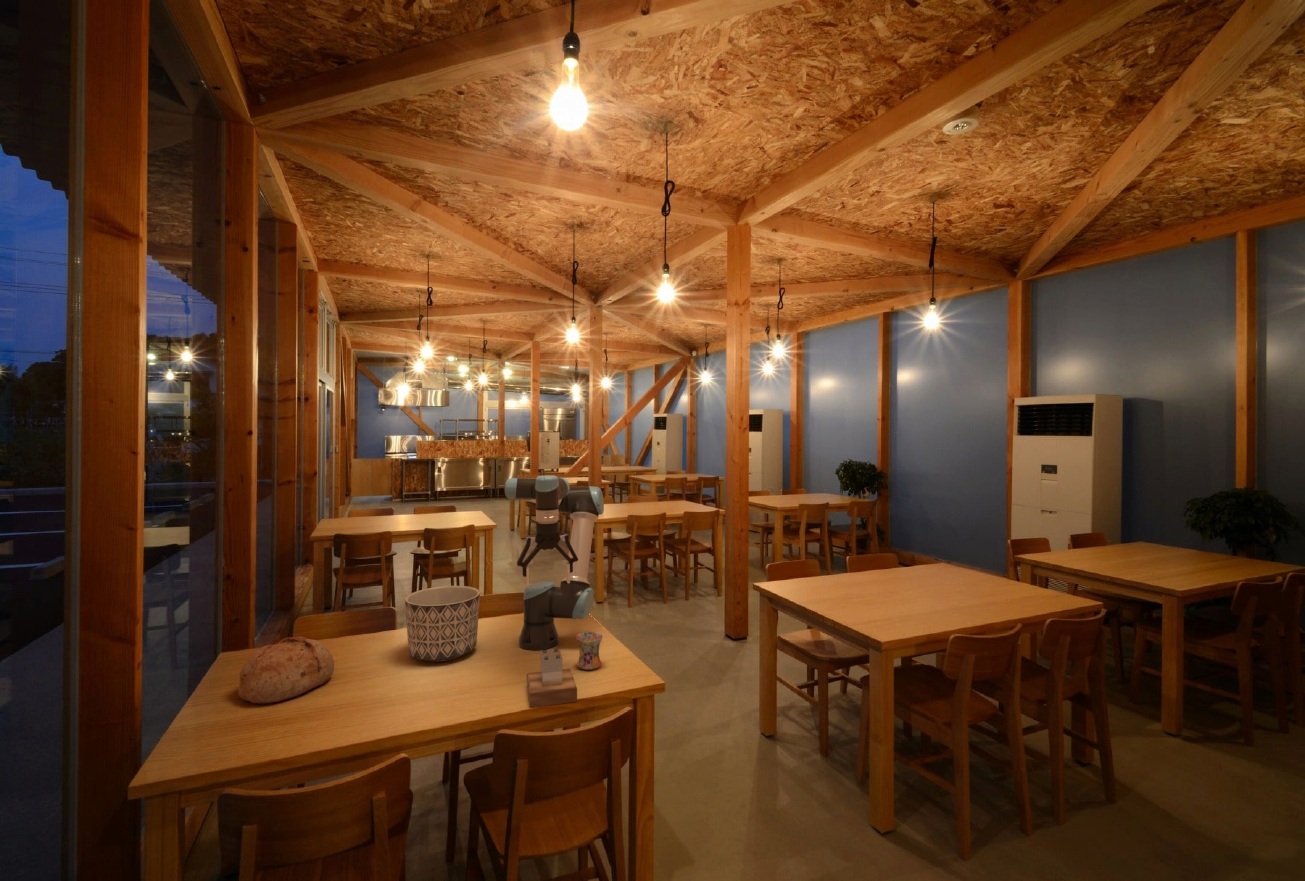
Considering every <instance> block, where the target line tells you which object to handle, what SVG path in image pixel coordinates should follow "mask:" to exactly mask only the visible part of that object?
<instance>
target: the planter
mask: <svg viewBox="0 0 1305 881" xmlns="http://www.w3.org/2000/svg"><path fill="white" fill-rule="evenodd" d="M480 595H481V592H480V590H479V589H478V588H475V587H473V586H467V585H444V586H435V587H434V586H433V587H430V588H429V587H428V588H424V589H420V590H416V591H414V592H411V593H410V594H408V595H406V596H405V597H404V602H405V603H404V604H405V605H404V606H405V617H406V620H405V621H406V631H407V632H406V634H407V646H408V647H407V649H408V654H409V655H410V656H411V657H412V658H413V659H417V660H419V661H420V660H422V661H427V662H430V663H431V662H433V663H439V662H448V661H452V660H455V659H457V658H460V657H461V656H464V655H466V654H468V653H471V651H473V650H474V649H475V648H476V647H477V643H478V631H479V630H478V629H479V628H478V627H479V612H480V599H481V596H480Z"/></svg>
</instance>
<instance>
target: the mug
mask: <svg viewBox="0 0 1305 881" xmlns="http://www.w3.org/2000/svg"><path fill="white" fill-rule="evenodd" d="M575 639H576V641H577V644H578V649H579V657H578V661H577V663H576V665H577V668H579V669H580V670H588V671H589V670H590V671H591V670H595V669H598V668H600V667H601V665H602V662H601V659H600V652H599V651H600V646H601V642H602V639H603V635H602V634H601V633H599V632H597V631H596V632H595V631H586V632H584V631H583V632H582V633H578V634H576V636H575Z"/></svg>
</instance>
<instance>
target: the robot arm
mask: <svg viewBox="0 0 1305 881" xmlns="http://www.w3.org/2000/svg"><path fill="white" fill-rule="evenodd" d="M504 484H505V485H504V494H505V497H506V498H507V499H508V500H521V501H527V502H530V503H534V504H535V522H536V523H535V536H534V537H532V536H526V542H525V544H524V546H523V548H522V550H521V553H520V555H519V557H518V559H517V561H516V565H517V566H518V567H521V568H522V576H523V578H524V577H525V585H526V587H525V588H524V590H523V598H522V600H523V626H522V629H521V632H520V635H519V637H518V638H519V639H518V645H519V647H520V648H522V649H524V650H529V651H543V650H549V649H551V648H554V647H555V646H557V645H558V644H559V634H558V631H557V627H556V624H555V619H568V620H569V619H571V620H572V619H573V620H583V619H586V618H587V617H588V616H589V614H590V613H591V610H592V607H593V603H594V598H595V597H594V596H595V594H594V593H595V592H594V589H593V588H591V583H590V582H589V581H588V574H589V566H590V558H591V550H592V549H591V547H592V543H593V535H594V534H593V533H594V525H595V522H597V521H598V520H599V516H601V515H603V514H604V511H605V502H604V496H603V491H602V490H601V488H600V487H598V486H591V485H589V486H588V485H585V486H583V485H581V486H580V485H570V482H569V481H568V480H567V479H565V478H564V477H558V476H557V475H548V474H546V475H538V476H536V478H535V477H534V478H532V477H531V478H528V477H527V478H524V477H523V478H522V477H510V478H508V479H507V480H506V482H505V483H504ZM560 513H561V514H569V515H570V518H571V519H572V520H573V521H572V528H571V534H570V535H571V536H570V539H569V535H568V534H567V533H564V534H563V535H562V534H561V535H560V529H559V528H560V523H559V522H558V521H559V519H560V517H559V514H560ZM560 541H562V542H564V543H565V544H566V547H567V549H568V550H569V551H568V554H567V552H566V551H565V550H564V549H563V548H562V547H561V546H560V544H559V542H560ZM534 542H536V545H535V547H534V548H533V550H532V551H531V552H530V553H529V554H528V556H527V557H526V555H527V553H528V551H529V549H530V547H531V545H532V544H533V543H534ZM554 549H556V550H557V551H558V552H559V553H560V554H561V555H562V556H563V557H564V559H565V560H566V561H567V562H565V564H566V565H565V566H566V571H565V577H564V578H563V579H562V580H561V581H560V585H559V586H555V583H554V582H553V581H539V582H538V581H537V582H533V583H531V584H530V567H529V564H530V563H531V562H532V560H533V559H534V558H535V557H536V556H537V554H538V553H539V552H540V551H541V550H543V551H545V550H546V551H547V550H554Z"/></svg>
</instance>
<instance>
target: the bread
mask: <svg viewBox="0 0 1305 881" xmlns="http://www.w3.org/2000/svg"><path fill="white" fill-rule="evenodd" d="M334 671H335V660H334V658H333V656H332V654H331V652H330V650H329V648H327V647H326V646H325V645H324V644H323V643H322V642H320V641H318V640H316V639H311V638H307V637H304V636H293V637H291V636H289V637H284V638H282V639H281V640H279V641H278V642H277V643H276V644H266V645H264V646H262V647H261V648H259V649H258V650H256V651H255V652H254V653H253V654H252V655H250V657H248V658H247V660H246V661H245V663H244V665H242V667H241V670H240V672H239V683H238V687H237V694H238V697H240V698H241V699H242V700H243V701H244V702H250V703H252V704H256V703H257V704H272V703H273V704H274V703H278V702H283V701H285V700H289V699H292V698H294V697H298V696H300V695H302V694H304V693H306V692H308V691H309V690H310V691H311V690H312V689H314V688H315V687H319V686H322V685H324V684H325V683H326V682H327V681H329V680H330V679H331V677H332V676H333V674H334Z"/></svg>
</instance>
